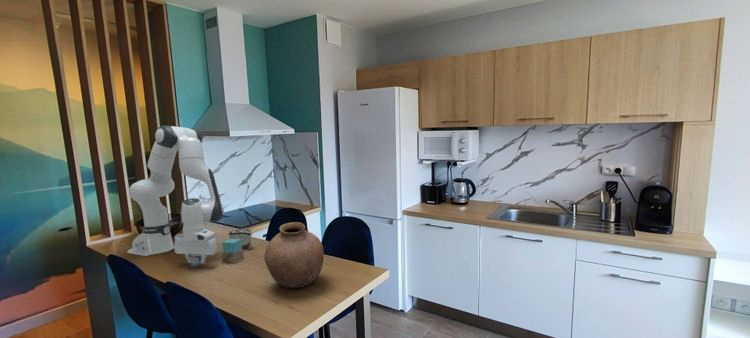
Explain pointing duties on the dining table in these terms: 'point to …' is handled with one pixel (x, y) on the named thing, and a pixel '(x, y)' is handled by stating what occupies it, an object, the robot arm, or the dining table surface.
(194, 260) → the metal cylinder
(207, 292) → the dining table surface
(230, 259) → the walnut base block
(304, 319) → the dining table surface
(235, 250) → the teal middle block
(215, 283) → the dining table surface
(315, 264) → the pottery
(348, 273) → the dining table surface
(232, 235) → the food container
